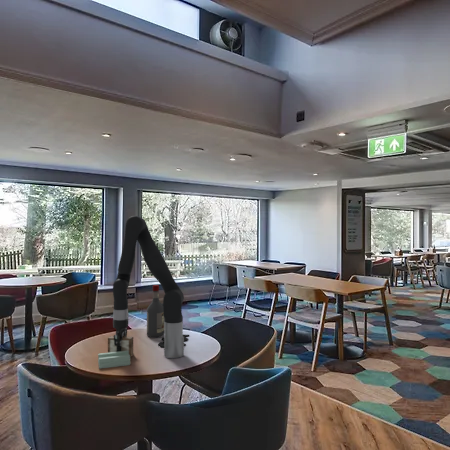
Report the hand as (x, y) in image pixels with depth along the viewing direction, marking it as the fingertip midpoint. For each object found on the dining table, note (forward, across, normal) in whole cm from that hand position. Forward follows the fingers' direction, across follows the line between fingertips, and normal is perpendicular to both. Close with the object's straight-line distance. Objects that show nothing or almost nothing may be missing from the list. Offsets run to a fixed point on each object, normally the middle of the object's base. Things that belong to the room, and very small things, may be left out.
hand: (120, 351), depth 193 cm
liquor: (+2, +36, -9) cm, 37 cm away
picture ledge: (+2, -12, -1) cm, 12 cm away
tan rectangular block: (+2, 0, 0) cm, 2 cm away
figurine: (+2, +24, -22) cm, 32 cm away
